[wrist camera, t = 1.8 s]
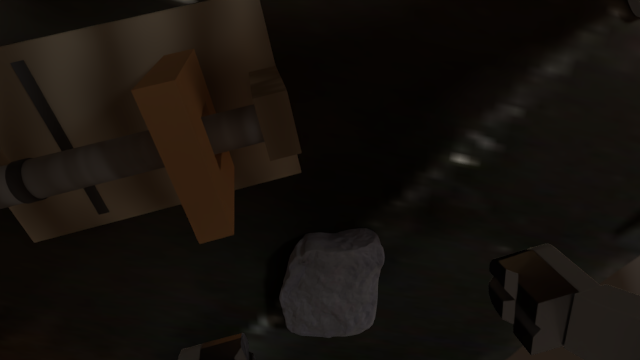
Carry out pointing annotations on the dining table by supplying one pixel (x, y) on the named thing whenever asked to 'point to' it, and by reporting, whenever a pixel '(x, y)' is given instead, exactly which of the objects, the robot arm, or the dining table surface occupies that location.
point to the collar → (188, 142)
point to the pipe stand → (133, 114)
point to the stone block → (332, 283)
